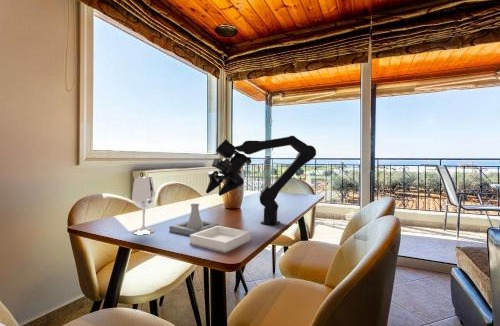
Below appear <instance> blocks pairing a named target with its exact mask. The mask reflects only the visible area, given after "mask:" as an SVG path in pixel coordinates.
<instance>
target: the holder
mask: <svg viewBox="0 0 500 326" xmlns="http://www.w3.org/2000/svg"><path fill="white" fill-rule="evenodd" d="M188 221H189V220H186V221H184V222H180V223H175V224H173V225H169V226H168V228H169V231H168V232H170V233H175V234H180V235H184V236H186V237H187V236H189V237H190V235H191V234H194V233H197V232H200V231H203V230H206V229H209V228H212V227H215V226H220V224H219V223H216V222H211V221H206V220H205V221H204V220H201V221H202V224H203V226H204V227H201V228H198V229H192V228H187V224H188Z"/></svg>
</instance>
